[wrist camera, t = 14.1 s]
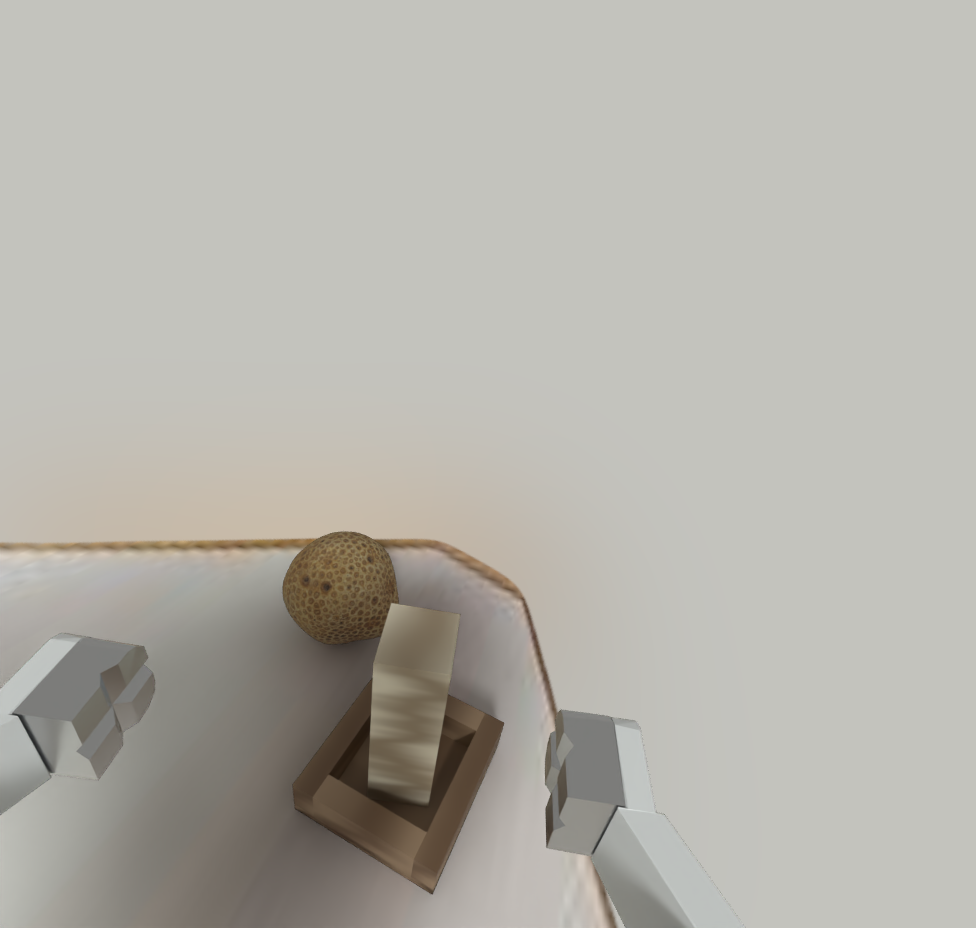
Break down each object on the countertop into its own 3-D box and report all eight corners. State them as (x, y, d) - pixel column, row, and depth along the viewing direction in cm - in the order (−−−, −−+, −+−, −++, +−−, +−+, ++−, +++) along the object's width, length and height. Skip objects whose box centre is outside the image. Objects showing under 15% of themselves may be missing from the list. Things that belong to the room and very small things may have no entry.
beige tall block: (367, 798, 34) (373, 662, 27) (382, 738, 38) (391, 603, 30) (427, 807, 34) (451, 674, 27) (437, 746, 38) (460, 614, 30)
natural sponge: (291, 592, 48) (285, 505, 43) (390, 586, 50) (396, 503, 45) (282, 680, 41) (273, 589, 36) (398, 668, 43) (406, 581, 38)
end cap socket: (295, 808, 34) (292, 784, 32) (382, 685, 42) (384, 662, 40) (432, 894, 31) (437, 873, 29) (497, 745, 39) (504, 722, 37)
